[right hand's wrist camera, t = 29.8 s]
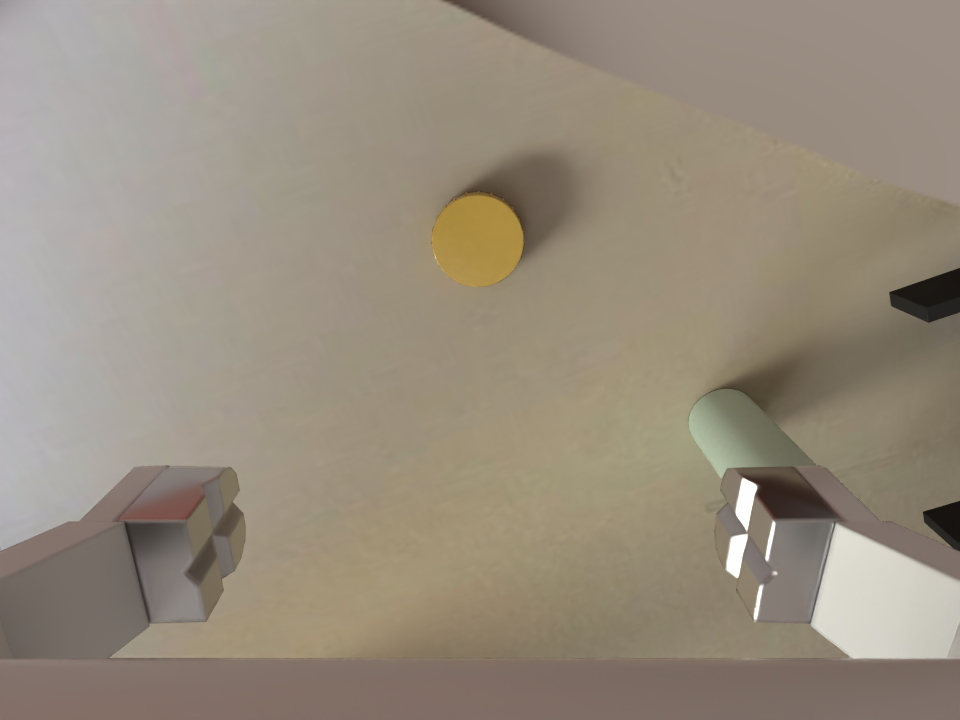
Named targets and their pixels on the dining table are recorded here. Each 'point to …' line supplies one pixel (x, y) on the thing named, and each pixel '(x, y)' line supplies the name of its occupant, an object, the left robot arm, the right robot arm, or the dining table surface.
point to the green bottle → (740, 434)
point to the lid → (477, 239)
